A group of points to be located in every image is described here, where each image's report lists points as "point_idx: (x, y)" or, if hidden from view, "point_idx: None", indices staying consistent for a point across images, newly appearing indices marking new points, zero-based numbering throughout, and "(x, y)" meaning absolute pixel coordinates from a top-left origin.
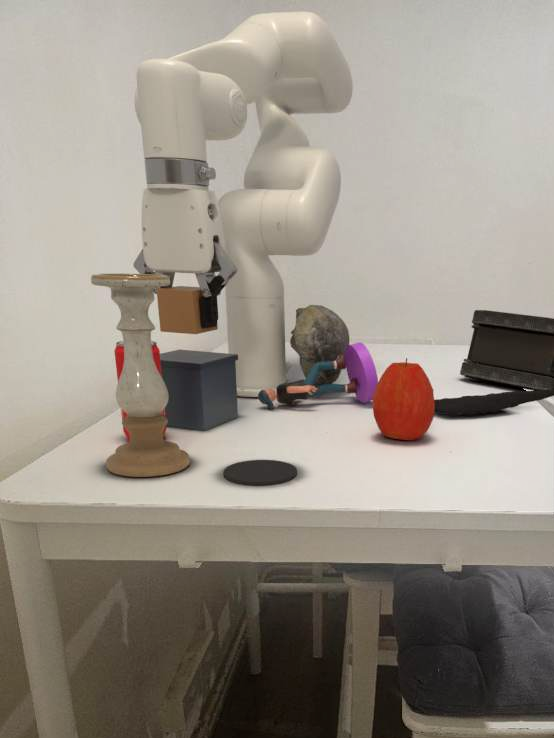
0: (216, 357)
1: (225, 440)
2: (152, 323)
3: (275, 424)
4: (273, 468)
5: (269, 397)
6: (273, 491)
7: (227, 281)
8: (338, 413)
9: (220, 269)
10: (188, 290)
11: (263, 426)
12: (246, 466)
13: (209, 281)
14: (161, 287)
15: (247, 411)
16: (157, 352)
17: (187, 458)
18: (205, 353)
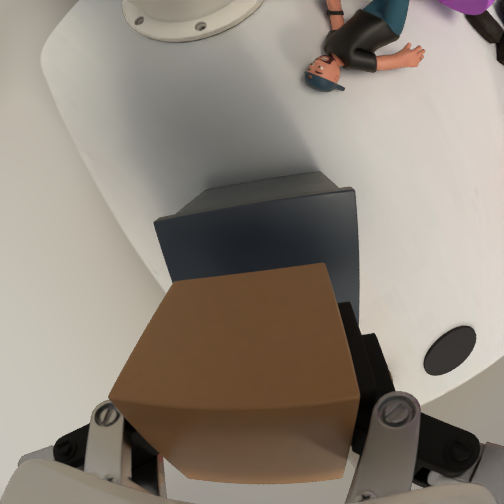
0: (339, 273)
1: (382, 295)
2: None
3: (403, 182)
4: (460, 344)
5: (336, 82)
6: (463, 367)
7: (476, 442)
8: (439, 64)
9: (444, 496)
10: (322, 480)
11: (394, 204)
12: (439, 354)
13: (371, 468)
14: (160, 462)
15: (304, 121)
16: None
17: (392, 379)
18: (265, 235)
